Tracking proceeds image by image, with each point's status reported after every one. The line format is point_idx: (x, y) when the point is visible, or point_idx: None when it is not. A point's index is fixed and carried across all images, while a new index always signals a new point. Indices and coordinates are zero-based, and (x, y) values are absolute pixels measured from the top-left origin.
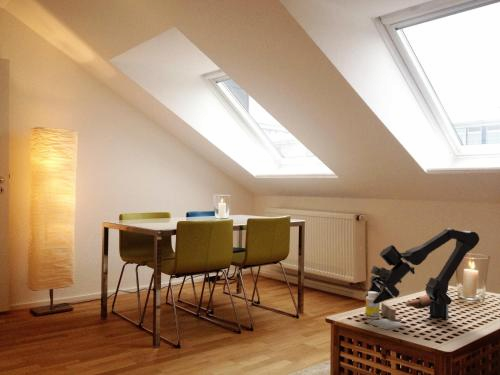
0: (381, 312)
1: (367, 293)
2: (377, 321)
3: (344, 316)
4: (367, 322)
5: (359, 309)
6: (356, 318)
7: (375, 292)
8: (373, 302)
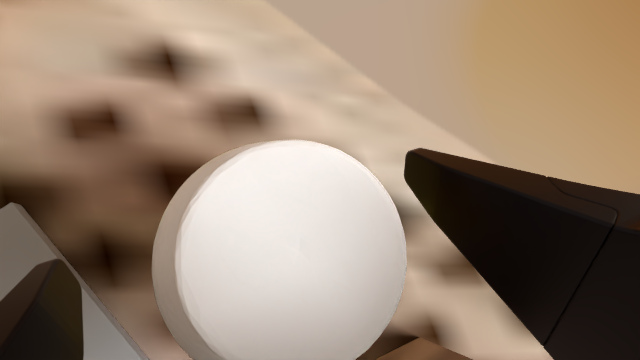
0: (422, 341)
1: (458, 165)
2: None
3: (216, 32)
4: (13, 208)
5: (477, 159)
6: (174, 119)
7: (292, 317)
8: (41, 267)
